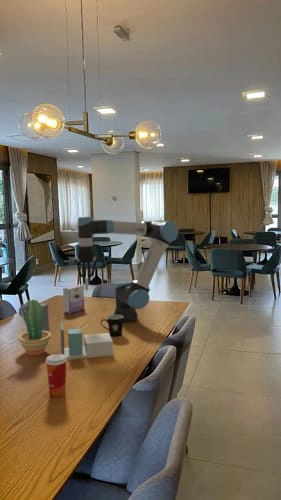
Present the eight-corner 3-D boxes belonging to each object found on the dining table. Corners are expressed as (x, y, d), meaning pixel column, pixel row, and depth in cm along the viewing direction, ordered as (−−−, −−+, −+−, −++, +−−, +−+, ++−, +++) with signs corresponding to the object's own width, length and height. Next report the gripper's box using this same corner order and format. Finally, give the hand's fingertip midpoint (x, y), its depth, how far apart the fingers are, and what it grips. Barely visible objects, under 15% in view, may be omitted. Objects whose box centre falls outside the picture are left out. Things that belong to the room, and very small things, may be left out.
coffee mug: (126, 333, 206) (126, 315, 205) (119, 338, 198) (118, 320, 197) (107, 330, 211) (107, 313, 210) (99, 335, 203) (99, 317, 202)
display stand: (108, 346, 188) (108, 318, 186) (112, 355, 177) (112, 325, 175) (61, 350, 183) (60, 322, 181) (62, 360, 171) (61, 330, 170)
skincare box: (43, 336, 203) (42, 307, 202) (31, 335, 205) (29, 306, 203) (50, 331, 212) (49, 303, 210) (38, 330, 213) (37, 302, 211)
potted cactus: (24, 345, 190) (22, 296, 187) (55, 345, 189) (53, 296, 186) (13, 357, 174) (11, 304, 172) (47, 358, 174) (45, 304, 171)
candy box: (78, 307, 260) (77, 284, 258) (84, 309, 257) (84, 285, 255) (63, 312, 249) (62, 287, 247) (69, 313, 246) (69, 288, 244)
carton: (80, 328, 181) (68, 329, 179) (82, 332, 174) (68, 334, 173) (81, 348, 182) (68, 349, 181) (82, 353, 175) (69, 355, 174)
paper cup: (48, 389, 144) (47, 353, 142) (69, 388, 145) (67, 352, 143) (45, 399, 136) (43, 362, 135) (66, 398, 137) (65, 361, 135)
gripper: (73, 246, 197) (75, 291, 200) (98, 246, 200) (99, 290, 203) (72, 245, 204) (74, 288, 207) (97, 244, 207) (97, 287, 210)
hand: (86, 289), depth 205 cm, fingers closed
